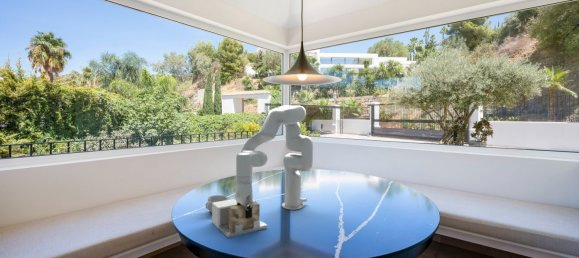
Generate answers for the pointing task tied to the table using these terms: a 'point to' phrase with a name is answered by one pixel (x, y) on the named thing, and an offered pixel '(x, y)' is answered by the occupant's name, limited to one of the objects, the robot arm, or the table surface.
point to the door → (242, 216)
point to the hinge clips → (239, 230)
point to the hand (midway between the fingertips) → (244, 214)
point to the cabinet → (222, 211)
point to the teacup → (214, 200)
